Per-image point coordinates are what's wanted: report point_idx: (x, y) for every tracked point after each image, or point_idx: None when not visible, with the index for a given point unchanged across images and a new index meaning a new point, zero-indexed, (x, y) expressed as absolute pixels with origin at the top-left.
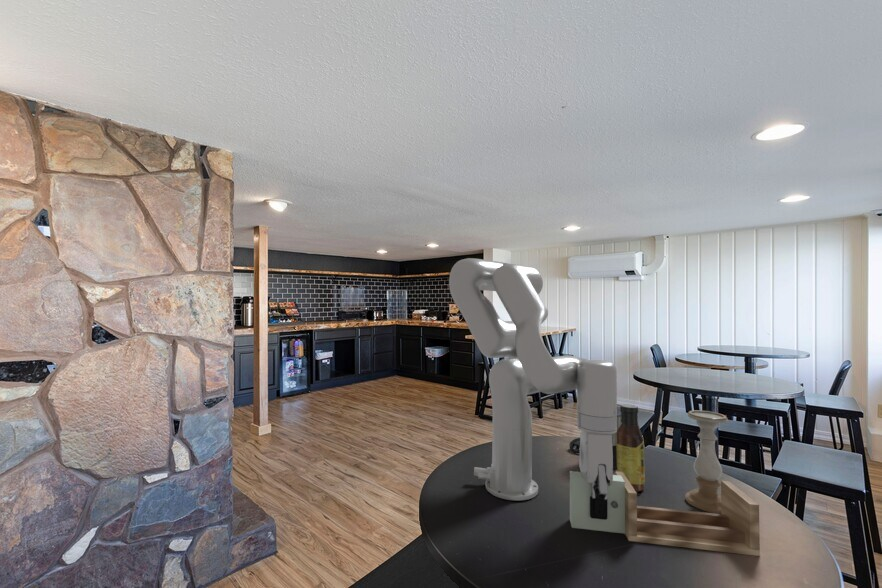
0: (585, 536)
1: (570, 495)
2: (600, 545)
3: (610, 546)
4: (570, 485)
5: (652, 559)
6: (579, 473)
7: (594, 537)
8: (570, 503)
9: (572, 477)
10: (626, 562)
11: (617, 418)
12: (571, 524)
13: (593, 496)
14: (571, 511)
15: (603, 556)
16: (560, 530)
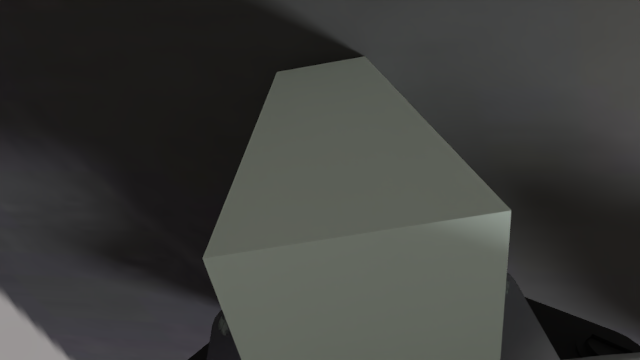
0: (219, 143)
1: (353, 103)
2: (174, 206)
3: (190, 241)
4: (368, 136)
5: (183, 353)
6: (428, 351)
7: (231, 183)
8: (344, 86)
9: (209, 260)
10: (107, 286)
11: None
12: (290, 71)
13: (214, 331)
14: (286, 88)
15: (92, 215)
16: (212, 4)
